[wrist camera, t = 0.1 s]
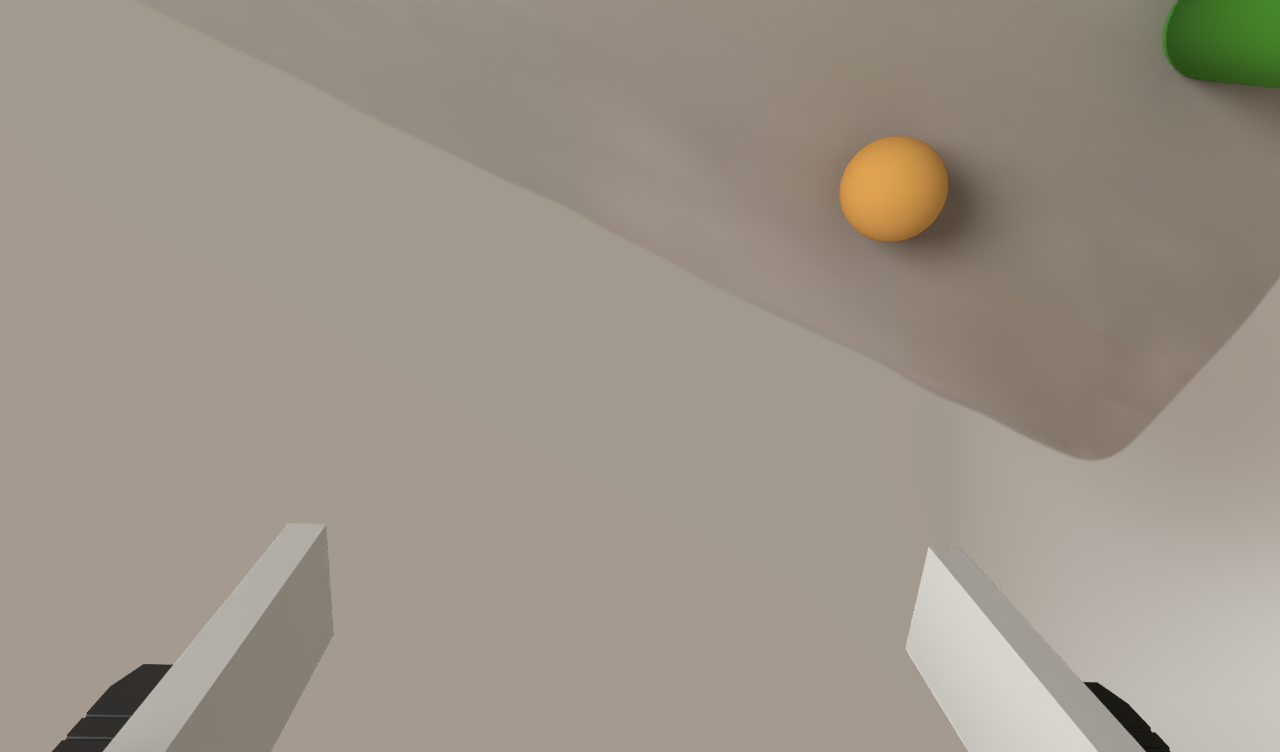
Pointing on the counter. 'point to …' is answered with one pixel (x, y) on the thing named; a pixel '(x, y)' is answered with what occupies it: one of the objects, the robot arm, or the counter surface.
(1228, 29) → the green tapered cylinder
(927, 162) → the ball
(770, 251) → the counter surface
